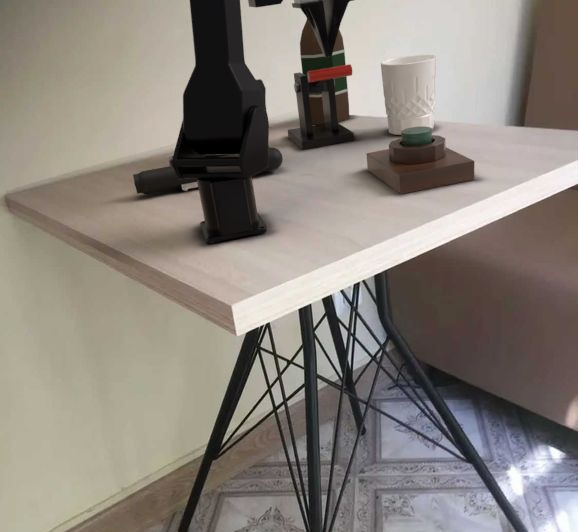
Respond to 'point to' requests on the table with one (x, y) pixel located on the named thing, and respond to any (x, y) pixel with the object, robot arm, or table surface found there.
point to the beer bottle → (315, 61)
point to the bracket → (307, 132)
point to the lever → (325, 77)
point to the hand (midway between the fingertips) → (328, 56)
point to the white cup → (409, 91)
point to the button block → (420, 166)
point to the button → (416, 136)
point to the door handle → (168, 179)
